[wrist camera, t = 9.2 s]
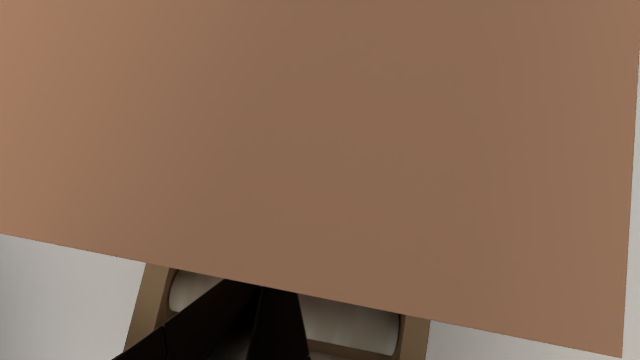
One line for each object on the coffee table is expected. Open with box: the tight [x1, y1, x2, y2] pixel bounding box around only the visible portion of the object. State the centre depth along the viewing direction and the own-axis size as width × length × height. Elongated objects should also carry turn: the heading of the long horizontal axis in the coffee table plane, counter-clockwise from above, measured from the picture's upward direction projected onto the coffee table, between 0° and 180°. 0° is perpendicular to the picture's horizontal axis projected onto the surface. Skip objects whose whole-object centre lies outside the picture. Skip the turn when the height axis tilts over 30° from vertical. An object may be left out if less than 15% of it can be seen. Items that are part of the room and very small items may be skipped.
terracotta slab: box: [0, 0, 640, 358], centre depth 11 cm, size 6×9×12 cm, turn 79°
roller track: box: [123, 263, 431, 360], centre depth 15 cm, size 14×12×6 cm
